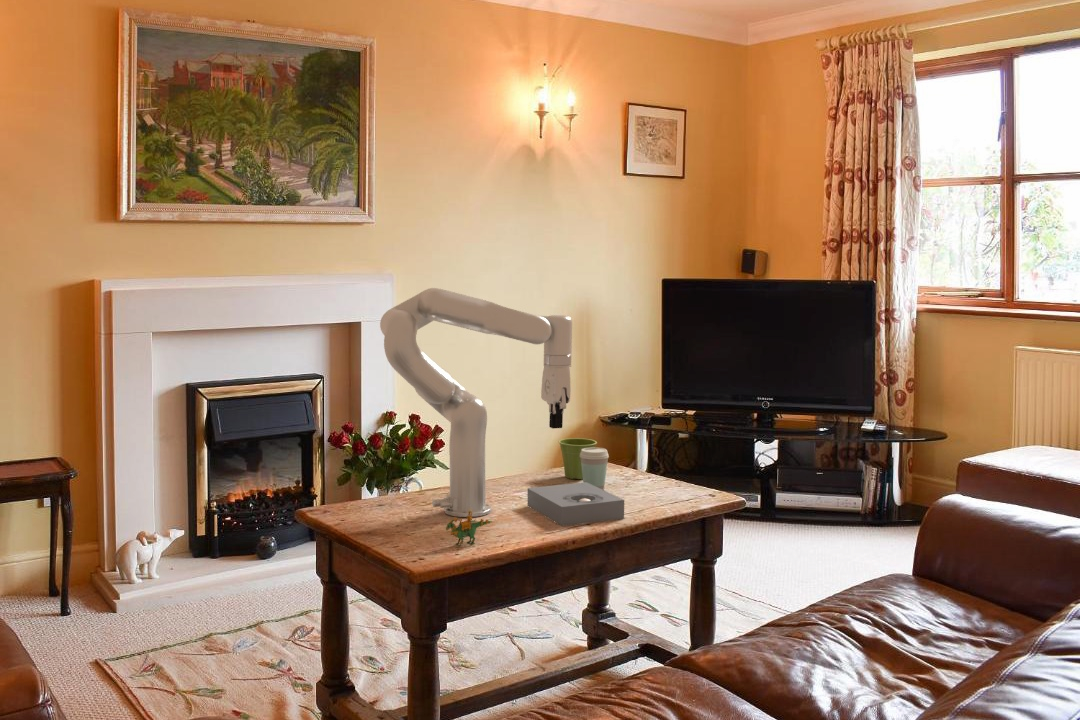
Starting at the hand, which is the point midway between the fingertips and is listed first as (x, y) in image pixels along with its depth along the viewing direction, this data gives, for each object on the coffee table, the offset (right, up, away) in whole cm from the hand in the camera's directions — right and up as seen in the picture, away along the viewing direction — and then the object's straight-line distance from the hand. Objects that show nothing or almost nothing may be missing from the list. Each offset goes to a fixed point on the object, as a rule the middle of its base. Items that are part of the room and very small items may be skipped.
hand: (555, 427), depth 275 cm
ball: (+7, -20, -11) cm, 24 cm away
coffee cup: (+11, -20, +19) cm, 30 cm away
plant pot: (+7, -18, +36) cm, 41 cm away
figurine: (-21, -26, -34) cm, 48 cm away
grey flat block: (+5, -22, -5) cm, 23 cm away
